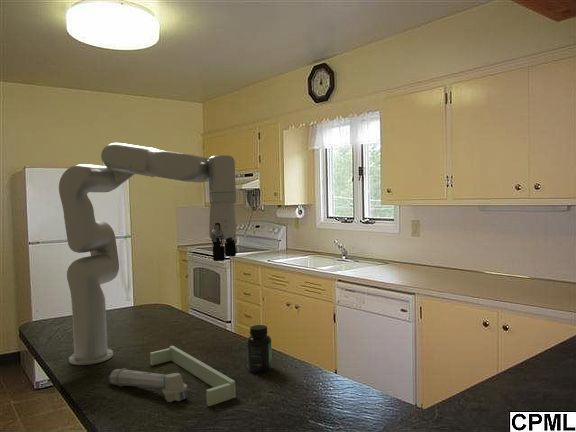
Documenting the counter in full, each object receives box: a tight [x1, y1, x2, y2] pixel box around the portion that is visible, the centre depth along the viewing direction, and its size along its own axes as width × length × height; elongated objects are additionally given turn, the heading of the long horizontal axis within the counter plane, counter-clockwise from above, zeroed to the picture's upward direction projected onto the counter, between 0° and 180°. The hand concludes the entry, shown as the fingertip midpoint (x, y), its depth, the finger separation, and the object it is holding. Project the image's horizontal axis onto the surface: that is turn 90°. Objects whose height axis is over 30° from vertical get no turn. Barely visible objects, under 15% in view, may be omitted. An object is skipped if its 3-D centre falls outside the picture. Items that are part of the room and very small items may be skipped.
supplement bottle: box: [246, 324, 273, 374], centre depth 129 cm, size 7×7×12 cm
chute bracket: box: [149, 345, 237, 407], centre depth 123 cm, size 36×7×4 cm, turn 38°
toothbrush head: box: [107, 367, 188, 403], centre depth 116 cm, size 5×7×25 cm
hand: (225, 258), depth 132 cm, fingers open, 9 cm apart
